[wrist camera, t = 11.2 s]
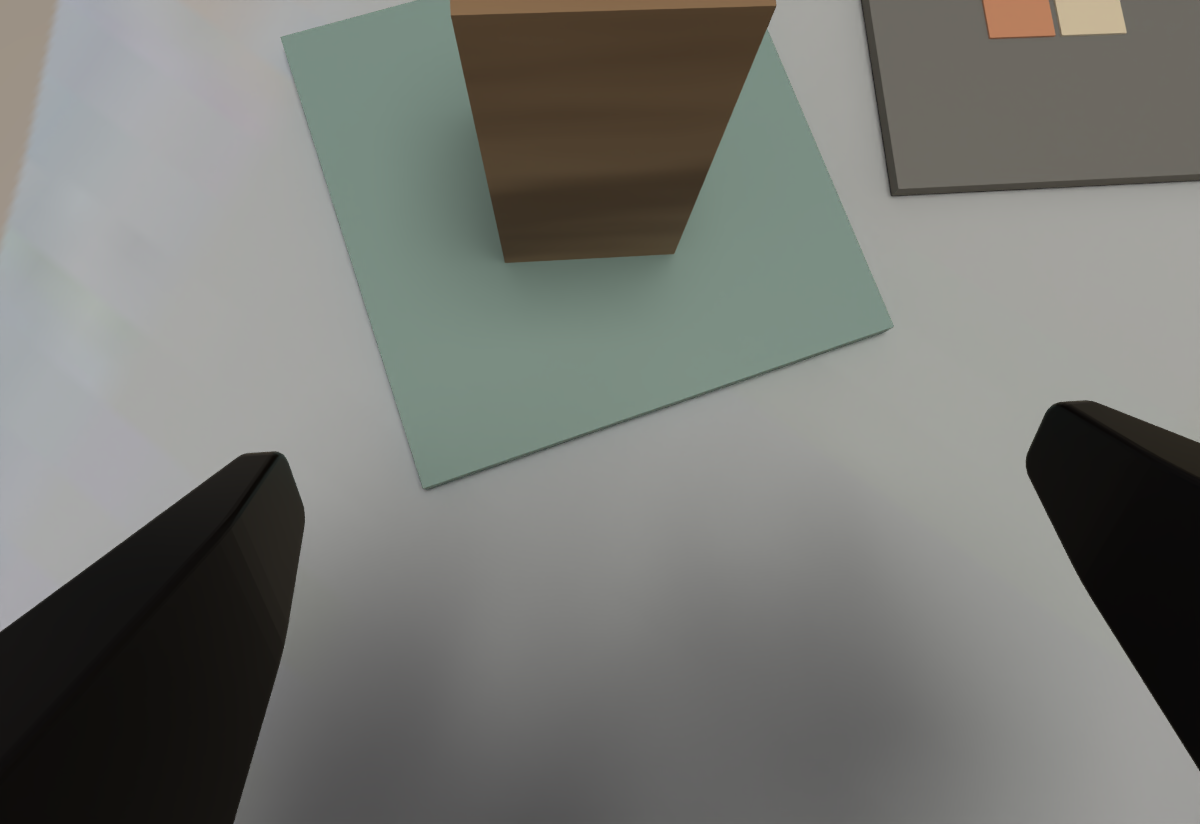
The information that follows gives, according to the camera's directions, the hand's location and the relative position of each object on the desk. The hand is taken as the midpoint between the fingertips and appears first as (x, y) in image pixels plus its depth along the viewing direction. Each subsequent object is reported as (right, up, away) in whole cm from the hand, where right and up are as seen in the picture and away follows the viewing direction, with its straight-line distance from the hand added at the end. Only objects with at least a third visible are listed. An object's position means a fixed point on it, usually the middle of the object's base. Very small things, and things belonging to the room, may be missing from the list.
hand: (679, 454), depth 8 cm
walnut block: (-1, +7, +11) cm, 13 cm away
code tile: (+12, +12, +13) cm, 22 cm away
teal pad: (-1, +7, +11) cm, 13 cm away
